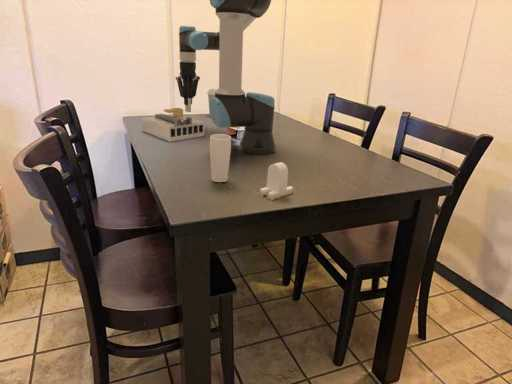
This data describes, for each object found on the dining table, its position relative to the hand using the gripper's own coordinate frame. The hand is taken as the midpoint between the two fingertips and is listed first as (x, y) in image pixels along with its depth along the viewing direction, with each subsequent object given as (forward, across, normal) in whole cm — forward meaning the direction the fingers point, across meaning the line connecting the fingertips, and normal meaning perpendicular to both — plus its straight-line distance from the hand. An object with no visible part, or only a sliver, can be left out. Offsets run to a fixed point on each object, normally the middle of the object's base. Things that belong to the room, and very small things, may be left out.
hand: (188, 111), depth 190 cm
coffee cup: (+8, -29, -14) cm, 33 cm away
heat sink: (+8, +14, +7) cm, 17 cm away
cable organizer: (+8, +29, +86) cm, 91 cm away
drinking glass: (+8, +36, +67) cm, 76 cm away
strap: (+2, +15, +7) cm, 17 cm away
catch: (+1, +9, 0) cm, 9 cm away
